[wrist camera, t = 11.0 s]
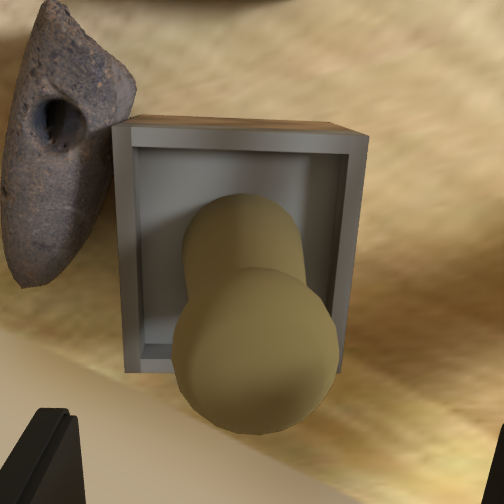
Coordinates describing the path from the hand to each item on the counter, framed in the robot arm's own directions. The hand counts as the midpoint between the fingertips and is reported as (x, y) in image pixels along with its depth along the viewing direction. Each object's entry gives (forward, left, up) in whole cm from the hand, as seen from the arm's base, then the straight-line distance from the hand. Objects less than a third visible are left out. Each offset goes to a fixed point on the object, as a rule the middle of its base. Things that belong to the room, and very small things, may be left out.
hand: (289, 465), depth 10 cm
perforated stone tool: (+10, -3, -21) cm, 24 cm away
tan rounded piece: (0, 0, -14) cm, 14 cm away
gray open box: (+1, 0, -21) cm, 21 cm away
